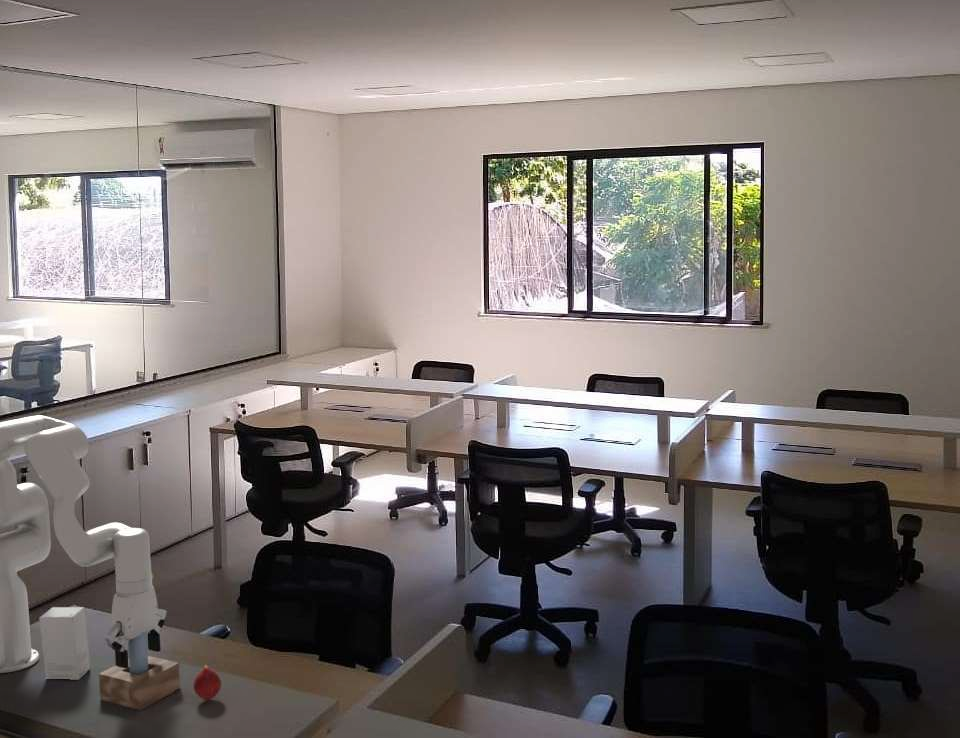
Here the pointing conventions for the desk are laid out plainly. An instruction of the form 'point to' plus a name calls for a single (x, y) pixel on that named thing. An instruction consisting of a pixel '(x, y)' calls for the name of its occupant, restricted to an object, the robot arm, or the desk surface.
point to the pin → (138, 654)
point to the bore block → (139, 683)
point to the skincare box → (65, 643)
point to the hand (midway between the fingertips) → (138, 658)
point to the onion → (207, 684)
